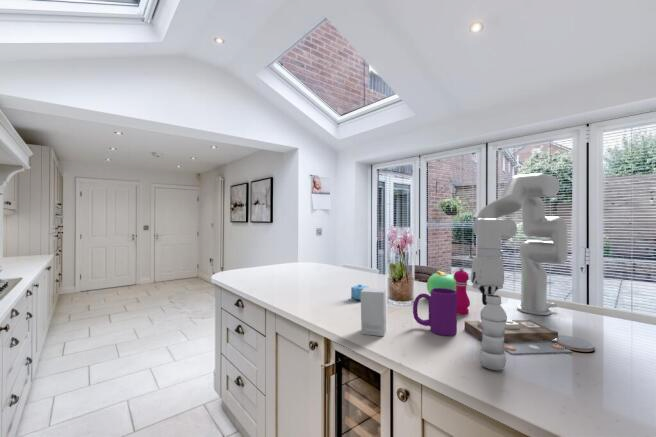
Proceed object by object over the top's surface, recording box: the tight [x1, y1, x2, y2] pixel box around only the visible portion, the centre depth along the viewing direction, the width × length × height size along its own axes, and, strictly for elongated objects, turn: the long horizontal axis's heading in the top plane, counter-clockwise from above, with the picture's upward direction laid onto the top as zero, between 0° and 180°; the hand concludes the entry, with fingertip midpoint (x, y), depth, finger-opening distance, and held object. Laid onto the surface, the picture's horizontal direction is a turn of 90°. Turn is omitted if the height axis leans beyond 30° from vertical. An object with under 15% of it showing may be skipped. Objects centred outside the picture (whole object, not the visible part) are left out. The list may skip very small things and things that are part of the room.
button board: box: [464, 319, 559, 344], centre depth 111 cm, size 26×13×3 cm, turn 95°
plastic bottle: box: [479, 294, 508, 371], centre depth 86 cm, size 6×7×20 cm
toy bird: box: [426, 270, 456, 296], centre depth 157 cm, size 18×17×15 cm
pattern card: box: [504, 342, 574, 356], centre depth 99 cm, size 20×7×1 cm, turn 95°
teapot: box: [350, 284, 370, 302], centre depth 156 cm, size 12×6×8 cm, turn 147°
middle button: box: [505, 319, 519, 329], centre depth 111 cm, size 4×4×3 cm
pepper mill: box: [453, 266, 471, 316], centre depth 136 cm, size 7×7×20 cm
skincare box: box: [360, 287, 387, 337], centre depth 112 cm, size 8×7×16 cm
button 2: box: [520, 322, 540, 329], centre depth 112 cm, size 4×4×3 cm
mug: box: [412, 288, 458, 337], centre depth 115 cm, size 9×16×15 cm, turn 63°
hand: (487, 305), depth 110 cm, fingers closed
